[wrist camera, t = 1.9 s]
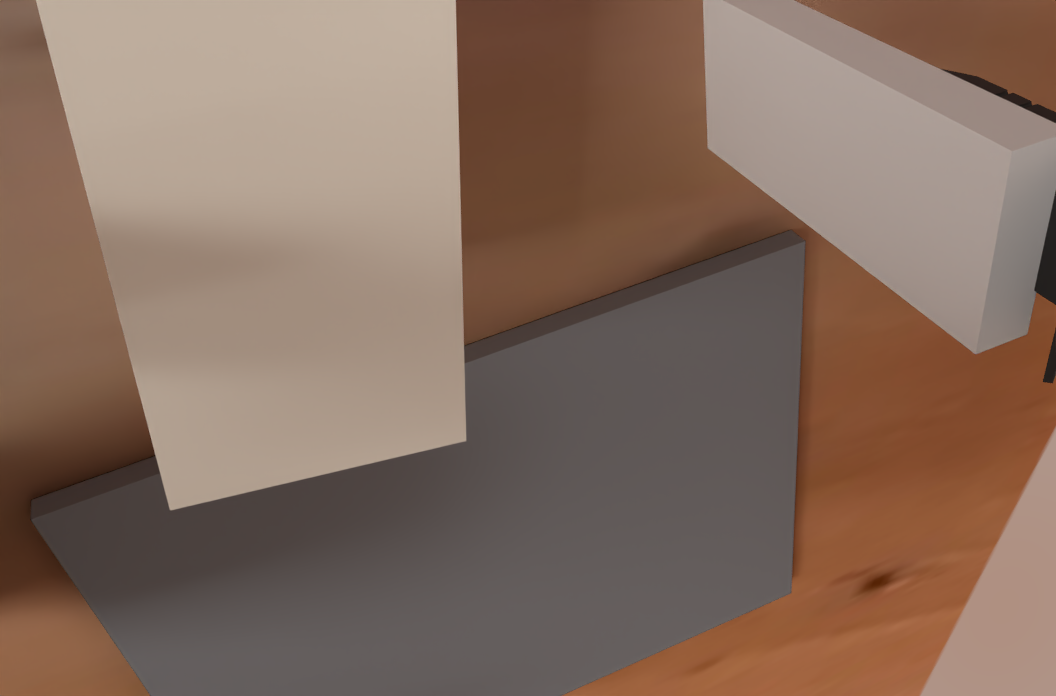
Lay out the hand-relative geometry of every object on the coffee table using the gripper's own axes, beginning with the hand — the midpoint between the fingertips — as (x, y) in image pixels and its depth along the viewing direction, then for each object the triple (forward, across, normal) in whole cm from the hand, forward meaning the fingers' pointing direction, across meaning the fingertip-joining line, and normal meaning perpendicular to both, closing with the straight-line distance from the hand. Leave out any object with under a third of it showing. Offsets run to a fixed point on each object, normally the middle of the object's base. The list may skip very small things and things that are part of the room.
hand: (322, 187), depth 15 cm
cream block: (+10, 0, 0) cm, 10 cm away
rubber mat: (+10, +2, -20) cm, 22 cm away
